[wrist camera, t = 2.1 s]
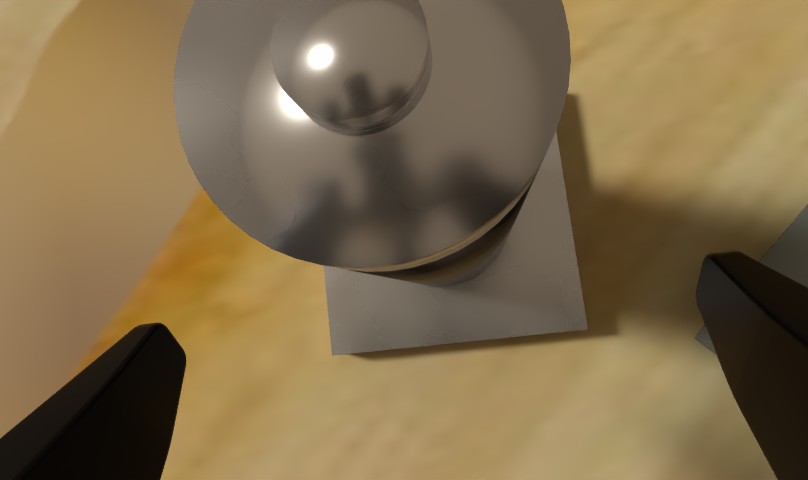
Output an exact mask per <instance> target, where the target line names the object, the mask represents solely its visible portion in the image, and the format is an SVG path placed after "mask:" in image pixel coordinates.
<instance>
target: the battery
mask: <svg viewBox="0 0 808 480" xmlns="http://www.w3.org/2000/svg"><path fill="white" fill-rule="evenodd" d="M570 62H571V57H570V39H569V30H568V25H567V20H566V15H565V10H564V6H563V4H562V1H561V0H195V1H194V4H193V6H192V8H191V11H190V13H189V16H188V18H187V20H186V23H185V26H184V29H183V33H182V36H181V40H180V43H179V47H178V53H177V59H176V65H175V76H174V102H175V113H176V121H177V125H178V129H179V134H180V139H181V142H182V145H183V148H184V150H185V153H186V156H187V159H188V161H189V164H190V166H191V168H192V169H193V171H194V173H195V175H196V177H197V179H198V181H199V183H200V184H201V186H202V187H203V189H204V190H205V191H206V193H207V194H208V196H209V197H210V198H211V200H212V201H213V203H214V204H215V205H216V206H217V207H218V208H219V209H220V210H221V211H222V212H223V213H224V214H225V215H226V216H227V217H228V218H229V219H230V221H232V222H233V223H234V224H235V225H237V226H238V227H239V228H241V229H242V230H243V231H244V232H246V233H247V234H248V235H249V236H251V237H253V238H254V239H256V240H258V241H259V242H261V243H263V244H265V245H266V246H268V247H270V248H271V249H274V250H276V251H279V252H281V253H284V254H286V255H288V256H291V257H293V258H296V259H300V260H304V261H308V262H312V263H316V264H320V265H325V266H330V267H335V268H340V269H345V270H350V271H356V272H361V273H366V274H371V275H376V276H381V277H386V278H392V279H397V280H402V281H407V282H412V283H417V284H423V285H428V286H436V287H439V286H452V285H457V284H460V283H464V282H466V281H468V280H471V279H473V278H474V277H476V276H478V275H479V274H481V273H482V272H483V271H485V270H486V269H487V268H488V267H489V266H490V265H491V264H492V263H493V262H494V261H495V259H496V258H497V257H498V255H499V254H500V252H501V250H502V248H503V247H504V245H505V242H506V240H507V238H508V236H509V234H510V231H511V229H512V227H513V225H514V223H515V221H516V218H517V216H518V214H519V212H520V210H521V207H522V205H523V203H524V201H525V199H526V197H527V194H528V192H529V190H530V188H531V186H532V184H533V181H534V179H535V177H536V175H537V173H538V170H539V168H540V166H541V164H542V162H543V160H544V157H545V155H546V153H547V151H548V149H549V146H550V144H551V142H552V140H553V137H554V134H555V132H556V129H557V127H558V124H559V121H560V119H561V116H562V113H563V108H564V104H565V100H566V95H567V91H568V85H569V74H570Z"/></svg>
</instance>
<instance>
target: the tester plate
mask: <svg viewBox="0 0 808 480" xmlns="http://www.w3.org/2000/svg"><path fill="white" fill-rule="evenodd" d="M324 273H325V284H326V295H327V305H328V316H329V327H330V338H331V349H332V356H333V355H343V354H352V353H362V352H372V351H382V350H392V349H401V348H411V347H421V346H431V345H441V344H450V343H460V342H470V341H480V340H490V339H499V338H509V337H519V336H529V335H539V334H548V333H558V332H568V331H578V330H588V326H587V320H586V314H585V307H584V301H583V295H582V289H581V282H580V276H579V270H578V264H577V257H576V251H575V245H574V239H573V232H572V226H571V220H570V214H569V207H568V201H567V195H566V189H565V182H564V176H563V170H562V164H561V157H560V151H559V145H558V139H557V132H555V134H554V137H553V140H552V142H551V144H550V146H549V149H548V151H547V153H546V155H545V157H544V160H543V162H542V164H541V166H540V168H539V170H538V173H537V175H536V177H535V179H534V181H533V184H532V186H531V188H530V190H529V192H528V194H527V197H526V199H525V201H524V203H523V205H522V207H521V210H520V212H519V214H518V216H517V218H516V221H515V223H514V225H513V227H512V229H511V231H510V234H509V236H508V238H507V240H506V242H505V245H504V247H503V248H502V250H501V252H500V254H499V255H498V257H497V258H496V259H495V261H494V262H493V263H492V264H491V265H490V266H489V267H488V268H487V269H486V270H485V271H483V272H482V273H481V274H479V275H478V276H476V277H474V278H473V279H471V280H468V281H466V282H464V283H460V284H457V285H452V286H439V287H436V286H428V285H423V284H417V283H412V282H407V281H402V280H397V279H392V278H386V277H381V276H376V275H371V274H366V273H361V272H356V271H350V270H345V269H340V268H335V267H330V266H325V265H324Z"/></svg>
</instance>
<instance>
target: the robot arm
mask: <svg viewBox="0 0 808 480" xmlns="http://www.w3.org/2000/svg"><path fill="white" fill-rule="evenodd" d="M696 301H697V305H698V308H699V311H700V313H701V316H702V318H703V321H704V323H705V326H706V328H707V331H708V334H709V336H710V339H711V341H712V344H713V346H714V349H715V351H716V354H717V357H718V359H719V362H720V364H721V367H722V369H723V372H724V374H725V377H726V380H727V382H728V384H729V387H730V389H731V391H732V394H733V396H734V398H735V400H736V402H737V404H738V406H739V408H740V410H741V412H742V414H743V416H744V417H745V419H746V421H747V423H748V425H749V427H750V429H751V431H752V432H753V434H754V436H755V438H756V440H757V442H758V444H759V446H760V447H761V449H762V451H763V453H764V455H765V457H766V459H767V461H768V462H769V464H770V466H771V468H772V470H773V472H774V474H775V476H776V477H777V479H778V480H808V287H806V286H804V285H803V284H801V283H799V282H797V281H795V280H793V279H791V278H789V277H787V276H786V275H784V274H782V273H780V272H778V271H776V270H774V269H772V268H770V267H769V266H767V265H765V264H763V263H761V262H759V261H757V260H755V259H754V258H752V257H750V256H748V255H746V254H744V253H742V252H740V251H734V250H731V251H723V252H715V253H710V254H708V255H707V256H706V257H705V258H704V261H703V264H702V269H701V273H700V277H699V281H698V285H697V290H696ZM185 368H186V355H185V352H184V350H183V348H182V347H181V346H180V344H179V343H178V342H177V340H176V339H175V338H174V336H173V335H172V334H171V332H170V331H169V329H168V328H167V327H166V326H165V325H164V324H162V323H151V324H143V325H139V326H137V327H135V328H134V329H132V330H131V331H130V332H129V333H128V334H126V335H125V336H124V337H123V338H121V339H120V340H119V341H118V342H117V343H115V344H114V345H113V346H112V347H111V348H109V349H108V350H107V351H106V352H105V353H103V354H102V355H101V356H100V357H98V358H97V359H96V360H95V361H94V362H92V363H91V364H90V365H89V366H88V367H86V368H85V369H84V370H83V371H82V372H80V373H79V374H78V375H77V376H75V377H74V378H73V379H72V380H71V381H69V382H68V383H67V384H66V385H65V386H63V387H62V388H61V389H60V390H58V391H57V392H56V393H55V394H54V395H52V396H51V397H50V398H49V399H48V400H46V401H45V402H44V403H43V404H42V405H40V406H39V407H38V408H37V409H35V410H34V411H33V412H32V413H31V414H30V415H28V416H27V417H26V418H25V419H23V420H22V421H21V422H20V423H19V424H17V425H16V426H15V427H14V428H12V429H11V430H10V431H9V432H8V433H6V434H5V435H4V436H3V437H2V438H0V480H160V479H161V475H162V472H163V469H164V465H165V462H166V459H167V455H168V451H169V448H170V444H171V439H172V435H173V430H174V425H175V420H176V414H177V409H178V404H179V399H180V394H181V388H182V383H183V378H184V373H185Z"/></svg>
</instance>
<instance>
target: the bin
mask: <svg viewBox="0 0 808 480" xmlns="http://www.w3.org/2000/svg"><path fill="white" fill-rule="evenodd" d="M760 262H761V263H763V264H765V265H767V266H769V267H770V268H772V269H774V270H776V271H778V272H780V273H782V274H784V275H786V276H787V277H789V278H791V279H793V280H795V281H797V282H799V283H801V284H803V285H804V286H806V287H808V205H807V206H806V207H805V209H804V210H803V211H802V212H801V213H800V214H799V216H798V217H797V218H796V219H795V220H794V222H793V223H792V224H791V225H790V226H789V227H788V229H787V230H786V231H785V232H784V233H783V235H782V236H781V237H780V238H779V239H778V240H777V242H776V243H775V244H774V245H773V246H772V247H771V249H770V250H769V251H768V252H767V253H766V255H765V256H764V257H763V258H762V259H761V260H760ZM695 338H696V339H697V340H698V341H700V342H701V343H702V344H703V345H705V346H706V347H707V348H709V349H710V350H711V351H712V352H714V353H715V354H716V351H715V349H714V346H713V344H712V341H711V339H710V336H709V334H708V331H707V328H706V326H704V328H703V329H702V330H701V331H700V332H699V334H698V335H697V336H696V337H695ZM716 355H717V354H716Z"/></svg>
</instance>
